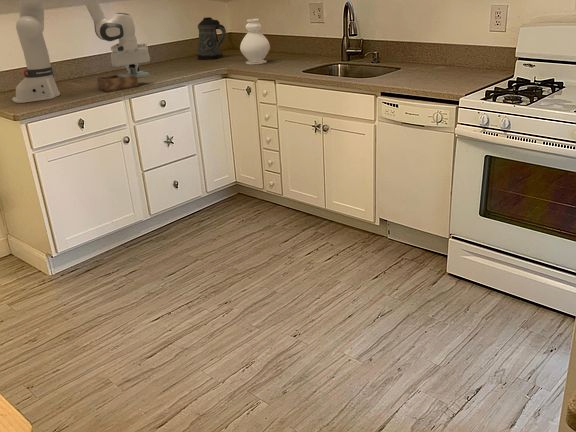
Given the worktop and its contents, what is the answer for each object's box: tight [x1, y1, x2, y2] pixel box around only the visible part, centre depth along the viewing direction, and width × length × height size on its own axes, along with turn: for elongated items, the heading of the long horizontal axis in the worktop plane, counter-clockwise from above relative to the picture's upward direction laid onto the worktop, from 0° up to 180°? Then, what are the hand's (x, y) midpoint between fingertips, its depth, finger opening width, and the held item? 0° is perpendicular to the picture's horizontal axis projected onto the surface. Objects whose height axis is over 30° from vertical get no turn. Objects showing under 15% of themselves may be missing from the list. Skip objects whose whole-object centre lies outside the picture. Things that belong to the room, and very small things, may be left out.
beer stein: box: [196, 16, 227, 61], centre depth 382 cm, size 16×19×25 cm
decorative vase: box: [239, 18, 271, 65], centre depth 355 cm, size 18×18×25 cm
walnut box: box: [96, 72, 139, 93], centre depth 307 cm, size 17×11×6 cm, turn 128°
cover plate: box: [116, 68, 150, 78], centre depth 310 cm, size 14×8×4 cm, turn 128°
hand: (133, 72), depth 310 cm, fingers closed on cover plate, 2 cm apart
